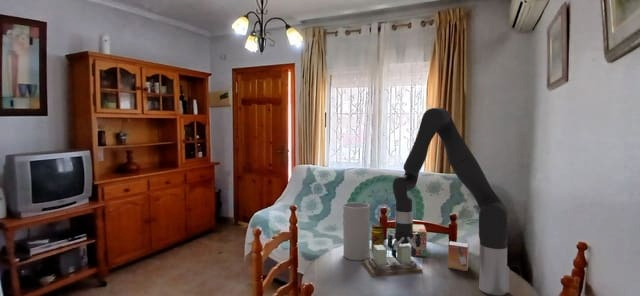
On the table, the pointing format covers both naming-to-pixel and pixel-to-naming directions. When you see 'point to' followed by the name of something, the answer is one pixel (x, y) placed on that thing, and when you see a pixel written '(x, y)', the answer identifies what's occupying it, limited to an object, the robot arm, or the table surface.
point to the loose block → (404, 254)
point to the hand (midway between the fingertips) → (403, 256)
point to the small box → (458, 255)
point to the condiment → (377, 235)
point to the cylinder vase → (356, 231)
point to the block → (379, 255)
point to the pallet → (391, 267)
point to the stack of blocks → (423, 239)
